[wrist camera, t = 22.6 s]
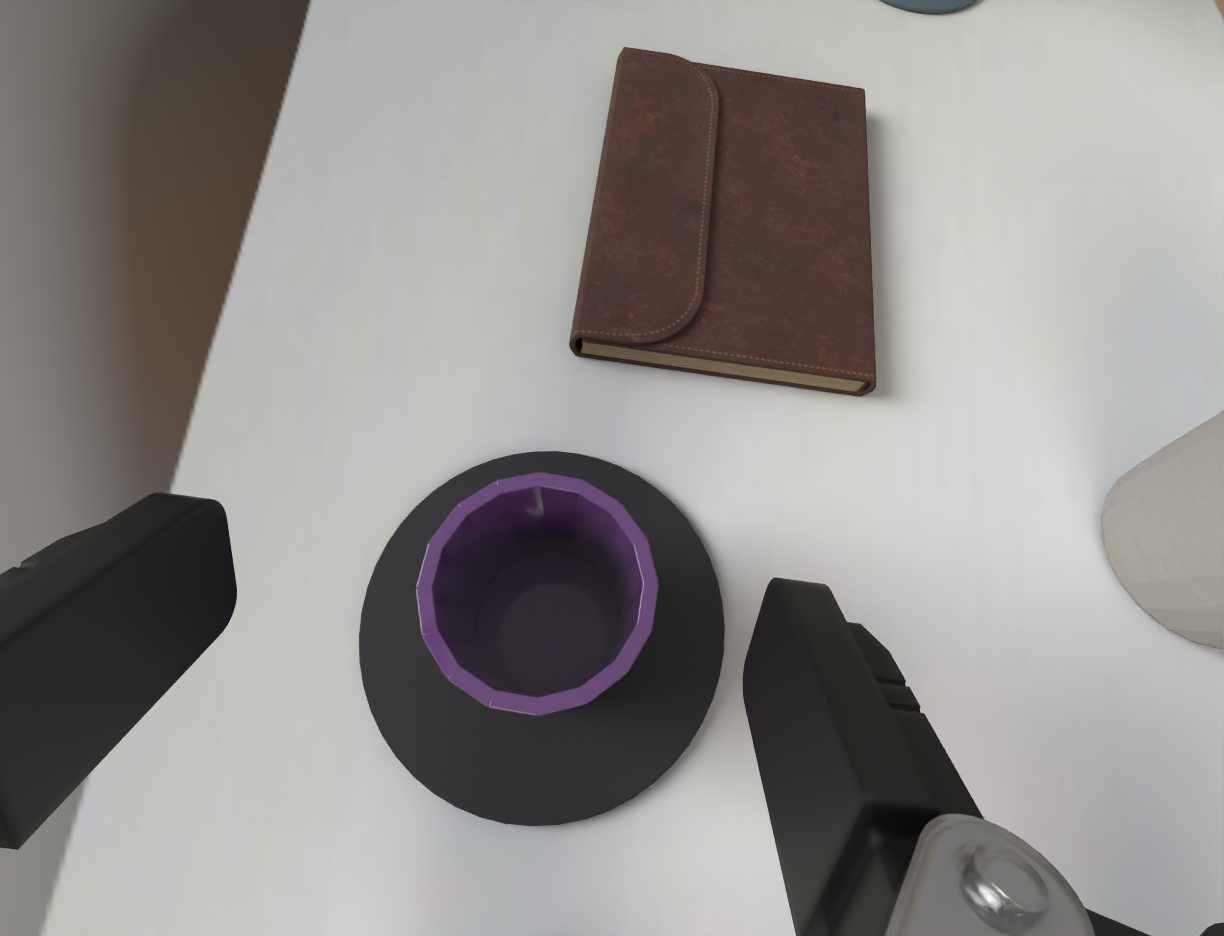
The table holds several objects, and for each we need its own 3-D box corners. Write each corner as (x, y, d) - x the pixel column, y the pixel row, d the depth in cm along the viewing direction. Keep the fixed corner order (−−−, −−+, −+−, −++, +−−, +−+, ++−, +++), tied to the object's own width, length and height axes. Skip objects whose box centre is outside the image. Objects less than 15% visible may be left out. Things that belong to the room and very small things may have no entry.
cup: (482, 723, 23) (434, 742, 15) (457, 561, 25) (403, 497, 17) (643, 682, 24) (684, 679, 16) (607, 529, 26) (626, 454, 18)
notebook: (857, 113, 37) (872, 82, 35) (866, 397, 30) (886, 378, 28) (616, 76, 37) (618, 43, 35) (569, 355, 30) (569, 333, 28)
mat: (382, 873, 22) (378, 877, 21) (347, 489, 27) (343, 486, 26) (768, 765, 24) (771, 767, 24) (670, 428, 29) (672, 423, 28)
